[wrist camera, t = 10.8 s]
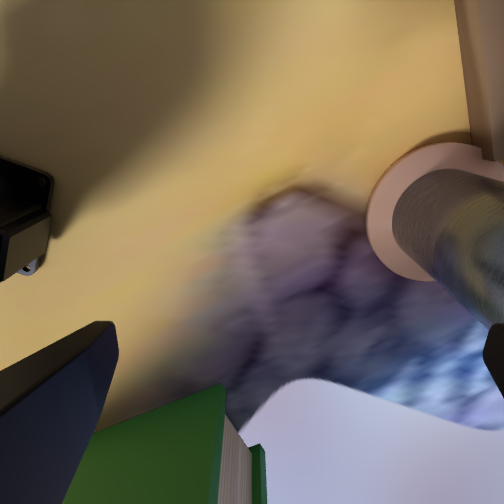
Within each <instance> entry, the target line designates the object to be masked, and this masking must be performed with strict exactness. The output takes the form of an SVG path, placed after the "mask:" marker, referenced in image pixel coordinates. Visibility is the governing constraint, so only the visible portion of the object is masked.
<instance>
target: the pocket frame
mask: <svg viewBox="0 0 504 504" xmlns="http://www.w3.org/2000/svg"><path fill="white" fill-rule="evenodd" d="M454 1H455V9H456V18H457V26H458V34H459V42H460V50H461V58H462V66H463V74H464V82H465V90H466V98H467V106H468V114H469V122H470V130H471V138H472V145H473V146H476V147H479V148H481V149H482V158H483V160H488V161H493V162H496V161H499V160H502V159H504V0H454Z"/></svg>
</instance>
